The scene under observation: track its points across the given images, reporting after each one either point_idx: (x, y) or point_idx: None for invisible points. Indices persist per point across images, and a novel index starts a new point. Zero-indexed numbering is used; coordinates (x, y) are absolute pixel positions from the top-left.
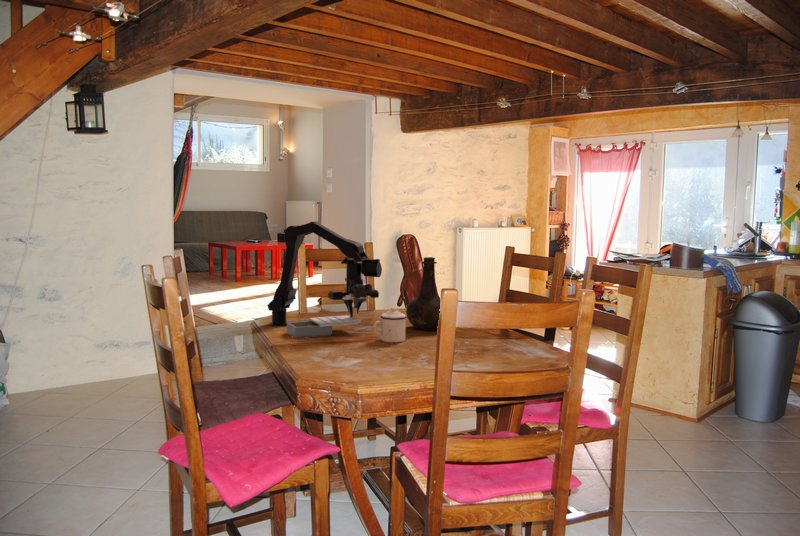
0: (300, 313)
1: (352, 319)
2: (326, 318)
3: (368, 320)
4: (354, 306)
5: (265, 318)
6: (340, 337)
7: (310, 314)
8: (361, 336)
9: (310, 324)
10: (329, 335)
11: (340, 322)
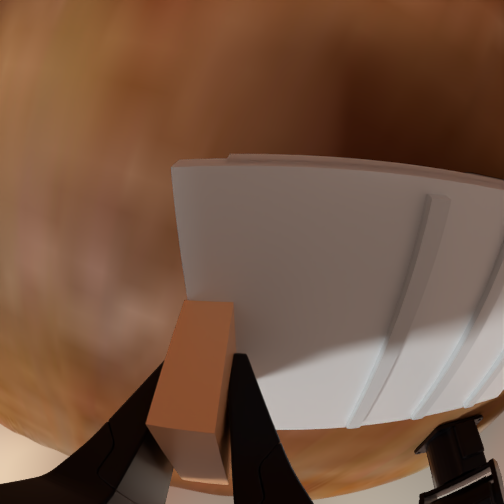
0: None
1: (262, 281)
2: (450, 379)
3: (93, 413)
4: (167, 476)
5: (407, 474)
6: (444, 77)
7: None
8: (250, 20)
9: None
10: (482, 175)
11: (483, 184)
